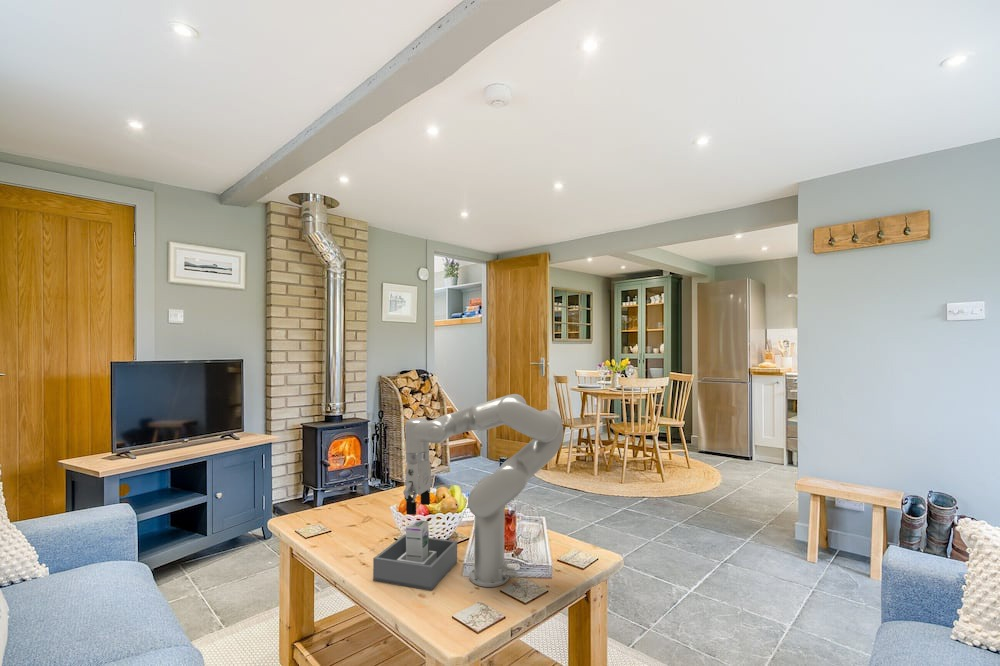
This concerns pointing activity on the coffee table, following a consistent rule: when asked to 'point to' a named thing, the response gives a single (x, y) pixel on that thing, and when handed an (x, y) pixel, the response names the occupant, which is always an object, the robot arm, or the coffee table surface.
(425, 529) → the syrup box
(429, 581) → the walled box
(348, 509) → the coffee table surface
